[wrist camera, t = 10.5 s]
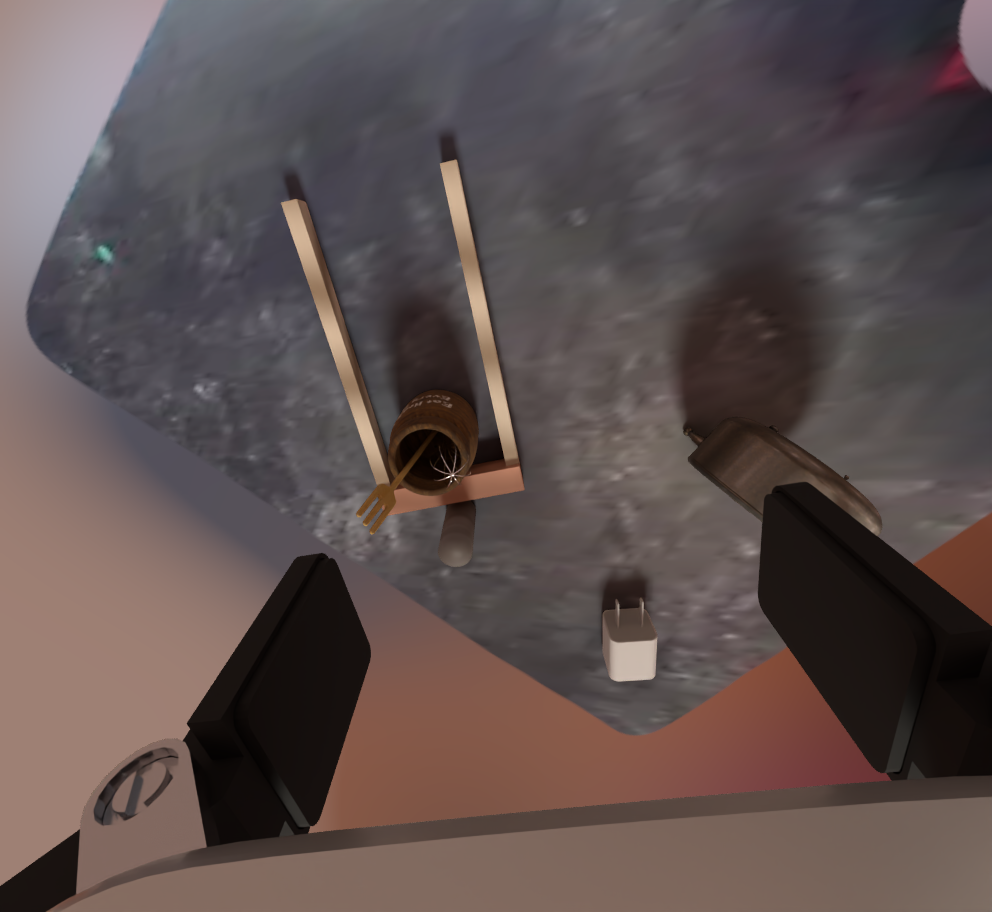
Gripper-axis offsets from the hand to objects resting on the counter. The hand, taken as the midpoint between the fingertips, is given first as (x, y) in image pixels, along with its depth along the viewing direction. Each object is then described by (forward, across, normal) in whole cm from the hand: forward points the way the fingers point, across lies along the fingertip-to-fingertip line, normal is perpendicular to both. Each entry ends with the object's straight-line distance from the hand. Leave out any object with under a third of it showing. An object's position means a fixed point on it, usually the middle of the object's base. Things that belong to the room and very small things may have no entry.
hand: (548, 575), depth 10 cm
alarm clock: (+25, -15, +11) cm, 32 cm away
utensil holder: (+25, +7, +5) cm, 26 cm away
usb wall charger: (+24, -6, +26) cm, 36 cm away
